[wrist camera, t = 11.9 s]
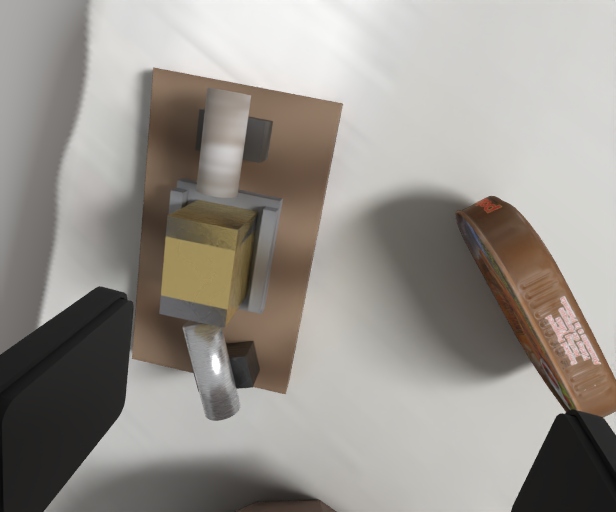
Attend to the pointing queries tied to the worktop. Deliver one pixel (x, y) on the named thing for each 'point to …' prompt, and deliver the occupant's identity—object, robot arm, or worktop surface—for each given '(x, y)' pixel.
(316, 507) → the brown cooking pot
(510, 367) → the worktop surface
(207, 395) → the shaft
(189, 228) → the coupler
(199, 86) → the rig
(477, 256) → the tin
